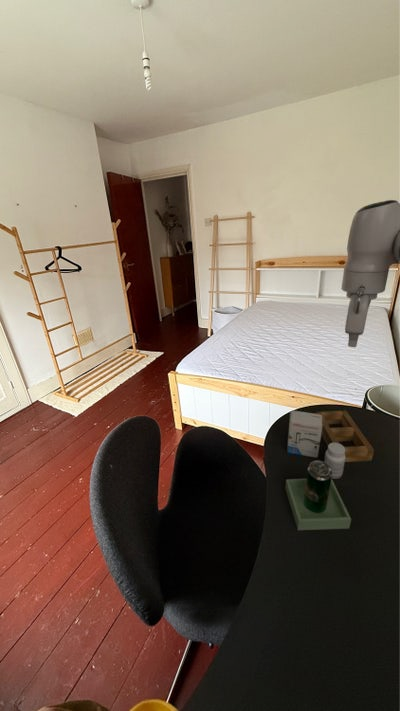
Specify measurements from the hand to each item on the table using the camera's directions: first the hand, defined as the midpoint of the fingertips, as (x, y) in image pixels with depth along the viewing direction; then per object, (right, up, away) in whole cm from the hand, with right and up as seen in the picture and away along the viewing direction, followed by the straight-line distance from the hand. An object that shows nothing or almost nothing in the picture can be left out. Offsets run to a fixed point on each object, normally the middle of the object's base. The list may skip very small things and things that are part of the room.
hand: (354, 338), depth 73 cm
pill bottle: (-3, -35, +6) cm, 36 cm away
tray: (-11, -40, -3) cm, 42 cm away
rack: (+5, -30, +17) cm, 34 cm away
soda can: (-11, -40, -3) cm, 41 cm away
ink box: (-8, -32, +14) cm, 36 cm away
